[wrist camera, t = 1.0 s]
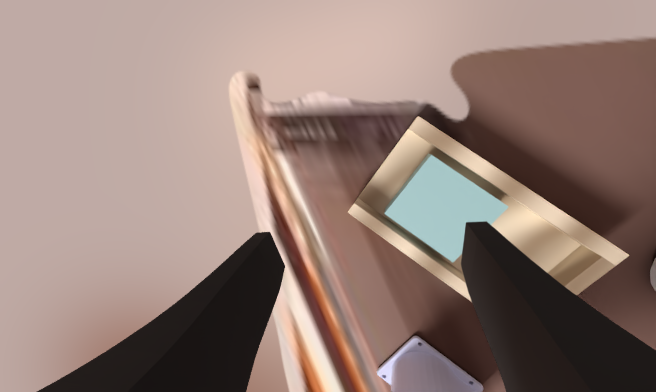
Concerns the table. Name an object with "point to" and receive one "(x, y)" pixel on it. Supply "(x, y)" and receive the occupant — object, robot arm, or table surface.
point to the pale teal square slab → (441, 206)
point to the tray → (514, 223)
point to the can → (653, 275)
